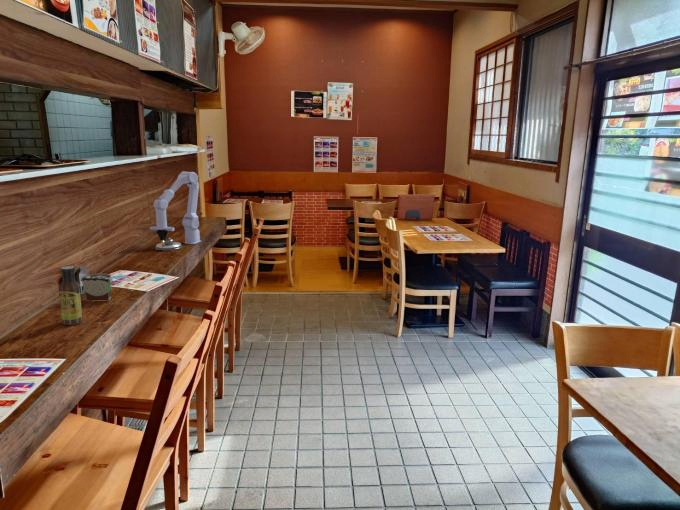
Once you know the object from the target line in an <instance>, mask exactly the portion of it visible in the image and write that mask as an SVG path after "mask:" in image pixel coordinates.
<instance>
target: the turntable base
mask: <svg viewBox="0 0 680 510" xmlns="http://www.w3.org/2000/svg"><path fill="white" fill-rule="evenodd" d="M181 248H182V249H183V245H182V244H181V247H178V248H173V249H159V248H156V246H155V248H154V249H155V251H158V250H162V251H161V252H171V251H170V250H175V251H178V250H177V249H179V250H182V249H181Z"/></svg>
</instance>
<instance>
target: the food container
mask: <svg viewBox="0 0 680 510" xmlns="http://www.w3.org/2000/svg"><path fill="white" fill-rule="evenodd" d="M80 282H81V283H82V287H83V292H84V296H85V301H86V300H110V299H111V300H112V282H114V280H113V277H112V275H111V274H109V273H104V272H103V273H101V272H100V273H91V274H89V273H88V274H86V275H82V276H81V277H80Z"/></svg>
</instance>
